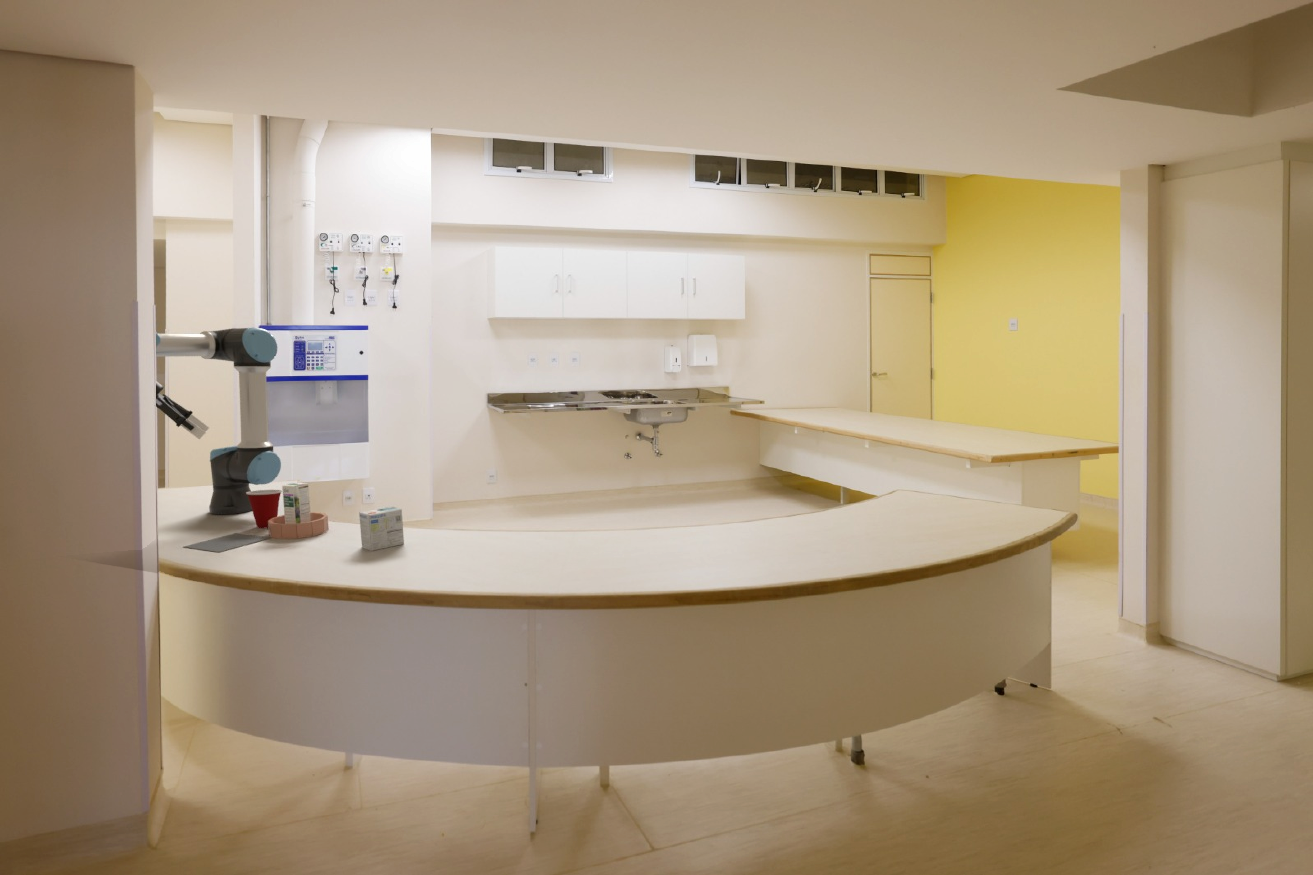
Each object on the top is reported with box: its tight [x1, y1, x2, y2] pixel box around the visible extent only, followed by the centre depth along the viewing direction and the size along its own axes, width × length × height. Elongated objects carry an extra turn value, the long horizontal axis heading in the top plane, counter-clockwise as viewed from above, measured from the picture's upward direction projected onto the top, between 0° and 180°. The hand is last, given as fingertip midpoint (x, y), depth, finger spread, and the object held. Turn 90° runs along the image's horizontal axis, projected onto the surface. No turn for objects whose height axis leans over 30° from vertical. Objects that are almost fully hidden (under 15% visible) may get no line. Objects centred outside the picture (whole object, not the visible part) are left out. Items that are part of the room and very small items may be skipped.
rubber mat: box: [183, 532, 272, 553], centre depth 262 cm, size 18×16×1 cm
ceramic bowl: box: [267, 511, 330, 540], centre depth 273 cm, size 17×17×4 cm
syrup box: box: [281, 482, 311, 524], centre depth 273 cm, size 6×6×14 cm
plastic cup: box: [246, 489, 283, 529], centre depth 282 cm, size 11×11×12 cm
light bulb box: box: [358, 506, 405, 552], centre depth 254 cm, size 11×7×11 cm, turn 134°
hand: (204, 433), depth 268 cm, fingers open, 13 cm apart
